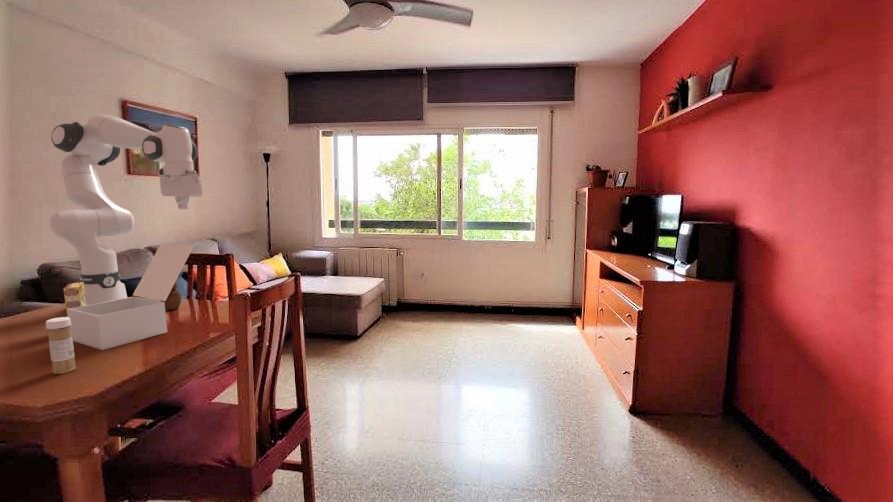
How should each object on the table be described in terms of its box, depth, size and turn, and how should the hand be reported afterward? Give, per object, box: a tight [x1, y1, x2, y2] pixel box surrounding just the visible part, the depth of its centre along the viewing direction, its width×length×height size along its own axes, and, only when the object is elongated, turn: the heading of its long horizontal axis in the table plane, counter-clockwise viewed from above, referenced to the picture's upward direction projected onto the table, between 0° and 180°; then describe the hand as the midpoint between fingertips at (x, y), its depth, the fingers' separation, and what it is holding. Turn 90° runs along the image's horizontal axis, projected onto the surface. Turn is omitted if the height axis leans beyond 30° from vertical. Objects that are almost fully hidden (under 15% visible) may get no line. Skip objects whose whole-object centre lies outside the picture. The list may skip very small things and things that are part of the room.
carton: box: [68, 296, 168, 351], centre depth 135 cm, size 18×18×10 cm
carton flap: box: [132, 242, 195, 301], centre depth 146 cm, size 18×20×1 cm
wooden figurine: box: [160, 281, 182, 311], centre depth 168 cm, size 7×6×15 cm
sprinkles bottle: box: [45, 316, 77, 375], centre depth 108 cm, size 5×5×13 cm
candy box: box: [62, 282, 86, 317], centre depth 141 cm, size 9×4×15 cm, turn 33°
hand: (182, 209), depth 159 cm, fingers closed
